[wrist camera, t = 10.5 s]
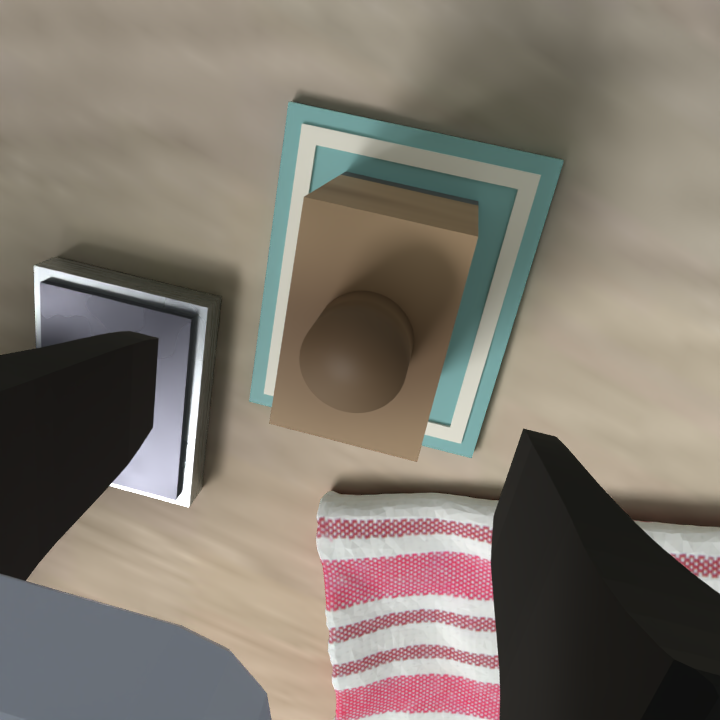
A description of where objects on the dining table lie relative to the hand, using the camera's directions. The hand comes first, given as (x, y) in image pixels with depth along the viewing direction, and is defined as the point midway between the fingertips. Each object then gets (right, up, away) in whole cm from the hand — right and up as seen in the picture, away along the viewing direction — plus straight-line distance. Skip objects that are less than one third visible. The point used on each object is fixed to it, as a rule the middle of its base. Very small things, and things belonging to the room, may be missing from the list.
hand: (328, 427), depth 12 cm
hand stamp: (+2, +4, +8) cm, 9 cm away
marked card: (+2, +3, +8) cm, 9 cm away
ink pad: (-8, +1, +11) cm, 14 cm away
